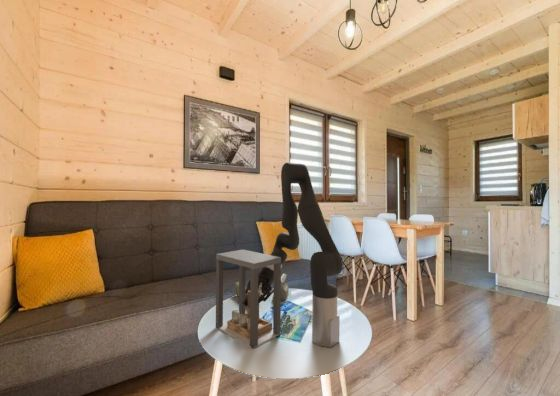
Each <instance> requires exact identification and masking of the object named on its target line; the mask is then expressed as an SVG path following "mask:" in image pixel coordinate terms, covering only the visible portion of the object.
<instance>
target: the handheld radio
mask: <svg viewBox="0 0 560 396" xmlns="http://www.w3.org/2000/svg"><path fill="white" fill-rule="evenodd" d="M246 288H247V286H245V290H246ZM234 291H235V292H234V293H235V295H236V296H238V297H239V281H237V282H235V284H234ZM248 291H249V290H248ZM246 296H247V294H246V293H245V298H246Z"/></svg>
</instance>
